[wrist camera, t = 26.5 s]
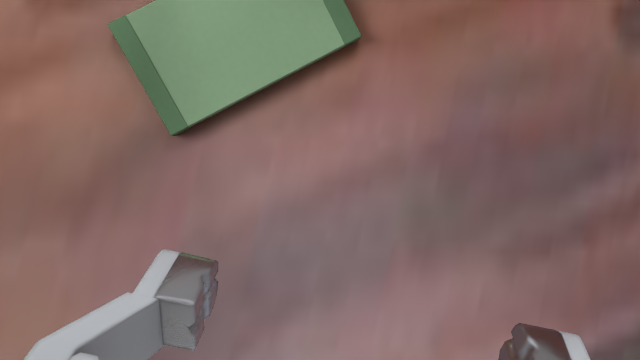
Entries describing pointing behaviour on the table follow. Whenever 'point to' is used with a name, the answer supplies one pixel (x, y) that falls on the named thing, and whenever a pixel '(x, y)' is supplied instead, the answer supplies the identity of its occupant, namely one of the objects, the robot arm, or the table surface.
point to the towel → (225, 49)
